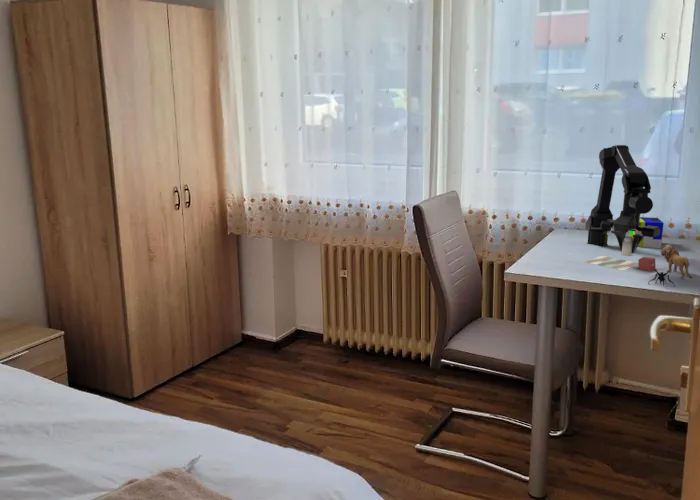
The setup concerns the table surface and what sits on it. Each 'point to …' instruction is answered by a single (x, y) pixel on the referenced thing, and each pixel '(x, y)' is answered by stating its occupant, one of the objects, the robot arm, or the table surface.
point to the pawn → (627, 246)
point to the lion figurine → (675, 260)
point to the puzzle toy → (650, 240)
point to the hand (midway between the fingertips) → (627, 252)
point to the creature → (661, 277)
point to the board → (612, 263)
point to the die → (646, 263)
